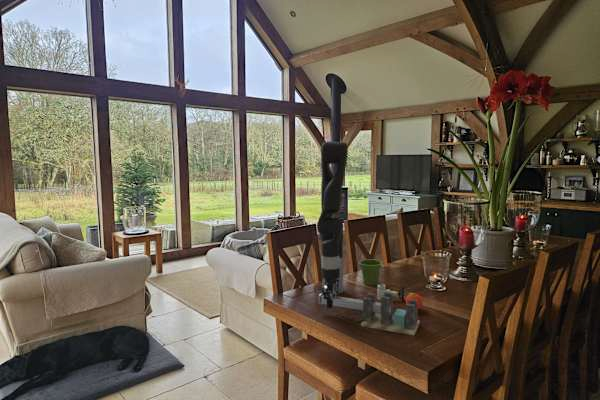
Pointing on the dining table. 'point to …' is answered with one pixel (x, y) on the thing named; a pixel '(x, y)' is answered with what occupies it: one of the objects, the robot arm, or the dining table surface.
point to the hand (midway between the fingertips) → (331, 306)
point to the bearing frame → (389, 315)
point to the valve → (382, 290)
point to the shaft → (350, 303)
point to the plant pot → (370, 271)
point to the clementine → (414, 297)
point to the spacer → (400, 317)
